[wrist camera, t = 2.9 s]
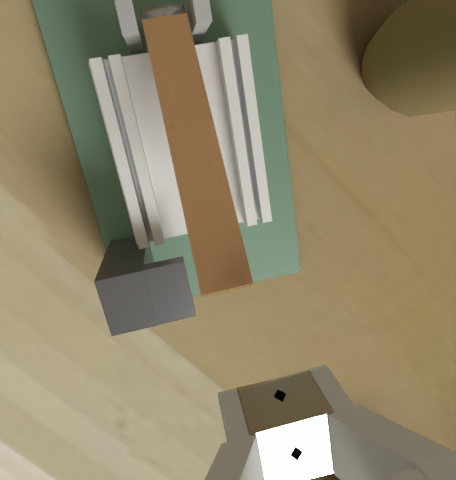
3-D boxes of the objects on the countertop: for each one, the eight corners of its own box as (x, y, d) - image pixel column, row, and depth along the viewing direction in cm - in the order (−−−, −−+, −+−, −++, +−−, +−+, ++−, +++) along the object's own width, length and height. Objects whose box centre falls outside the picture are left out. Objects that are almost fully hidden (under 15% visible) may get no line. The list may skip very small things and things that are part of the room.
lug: (110, 241, 31) (94, 281, 23) (178, 226, 31) (183, 261, 24) (122, 285, 32) (111, 336, 25) (188, 270, 32) (196, 316, 25)
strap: (142, 22, 23) (138, 2, 22) (184, 15, 23) (182, -4, 22) (201, 297, 19) (201, 294, 18) (250, 285, 20) (253, 282, 18)
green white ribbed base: (24, -37, 25) (-31, -98, 18) (259, -68, 26) (295, -134, 19) (125, 306, 34) (116, 357, 27) (296, 267, 35) (331, 306, 28)
